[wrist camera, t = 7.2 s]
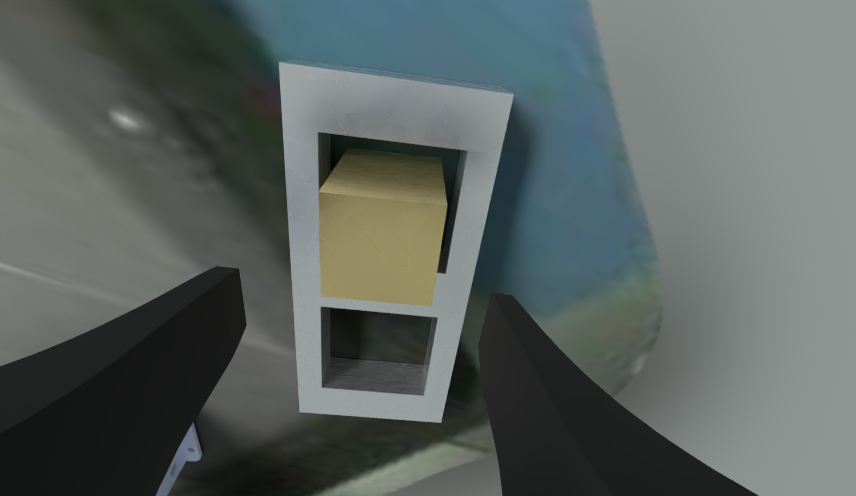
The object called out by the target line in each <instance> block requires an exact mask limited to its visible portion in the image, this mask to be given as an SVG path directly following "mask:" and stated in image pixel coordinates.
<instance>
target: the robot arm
mask: <svg viewBox="0 0 856 496" xmlns="http://www.w3.org/2000/svg"><path fill="white" fill-rule="evenodd" d="M246 325H247V324H246V317H245V310H244V302H243V295H242V288H241V281H240V273H239V269H238V268H228V267H218V266H216V267H214V268H212V269H210V270H208V271H206V272H204V273H202V274H200V275H198V276H196V277H194V278H192V279H190V280H188V281H187V282H185V283H183V284H181V285H179V286H177V287H176V288H174V289H172V290H170V291H168V292H166V293H164V294H163V295H161V296H159V297H157V298H155V299H153V300H151V301H149V302H148V303H146V304H144V305H142V306H140V307H138V308H136V309H134V310H132V311H130V312H128V313H126V314H124V315H122V316H120V317H117V318H115V319H113V320H111V321H109V322H107V323H105V324H103V325H101V326H99V327H97V328H95V329H93V330H90V331H88V332H86V333H84V334H82V335H79V336H77V337H75V338H72V339H70V340H68V341H65V342H63V343H60V344H58V345H56V346H53V347H51V348H48V349H46V350H43V351H41V352H38V353H36V354H33V355H31V356H28V357H25V358H22V359H20V360H17V361H14V362H11V363H8V364H6V365H3V366H0V496H167V495H168V493H169V491H170V489H171V488H172V486H173V484H174V482H175V480H176V479H177V477H178V475H179V473H180V471H181V470H182V468H183V466H184V464H185V462H186V461H198V460H200V458H201V456H202V452H201V448H200V444H199V441H198V437H197V433H196V430H195V426H194V420H195V419H196V417H197V415H198V414H199V412H200V411H201V409H202V407H203V406H204V404H205V402H206V401H207V399H208V397H209V396H210V394H211V393H212V391H213V389H214V388H215V386H216V384H217V383H218V381H219V379H220V378H221V376H222V374H223V373H224V371H225V369H226V368H227V366H228V364H229V363H230V361H231V359H232V358H233V356H234V353H235V351H236V349H237V347H238V345H239V342H240V340H241V338H242V335H243V333H244V330H245V328H246ZM478 347H479V361H480V372H481V380H482V385H483V390H484V395H485V399H486V404H487V409H488V414H489V418H490V423H491V428H492V432H493V437H494V442H495V446H496V451H497V457H498V463H499V469H500V478H501V486H502V495H503V496H758V495H756V494H755V493H753V492H751V491H749V490H748V489H746V488H745V487H743V486H741V485H739V484H738V483H736V482H734V481H733V480H731V479H729V478H727V477H726V476H724V475H722V474H721V473H719V472H717V471H715V470H714V469H712V468H710V467H709V466H707V465H706V464H704V463H702V462H701V461H700V460H698V459H696V458H695V457H693V456H692V455H690V454H689V453H687V452H686V451H684V450H683V449H681V448H679V447H678V446H676V445H675V444H674V443H672V442H671V441H669V440H668V439H666V438H665V437H663V436H662V435H660V434H659V433H658V432H656V431H655V430H653V429H652V428H651V427H649V426H648V425H647V424H645V423H644V422H643V421H641V420H640V419H639V418H637V417H636V416H635V415H633V414H632V413H631V412H629V411H628V410H627V409H625V408H624V407H623V406H622V405H620V404H619V403H618V402H617V401H615V400H614V399H613V398H612V397H611V396H610V395H608V394H607V393H606V392H605V391H604V390H603V389H601V388H600V387H599V386H598V385H597V384H596V383H594V382H593V381H592V380H591V379H590V378H589V377H588V376H587V375H586V374H584V373H583V372H582V371H581V370H580V369H579V368H578V367H577V366H576V365H575V364H574V363H573V362H572V361H571V360H570V359H569V358H568V357H567V356H566V355H565V354H564V353H563V352H562V351H561V350H560V349H559V348H558V347H557V346H556V345H555V343H554V342H553V341H552V340H551V339H550V338H549V337H548V336H547V335H546V334H545V332H544V331H543V330H542V329H541V328H540V327H539V326H538V325H537V323H536V322H535V321H534V320H533V319H532V318H531V316H530V315H529V314H528V313H527V312H526V311H525V309H524V308H523V307H522V306H521V305H520V304H519V302H518V301H517V300H516V299H515V298H514V297H513V296H512V295H503V294H493V293H492V294H491V298H490V302H489V306H488V310H487V314H486V318H485V322H484V326H483V330H482V334H481V337H480V341H479V345H478Z"/></svg>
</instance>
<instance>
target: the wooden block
mask: <svg viewBox="0 0 856 496" xmlns="http://www.w3.org/2000/svg"><path fill="white" fill-rule="evenodd" d="M318 193H319V234H320V274H321V297H332V298H343V299H354V300H366V301H377V302H388V303H399V304H410V305H421V306H432V302H433V295H434V289H435V282H436V276H437V269H438V263H439V257H440V250H441V244H442V237H443V231H444V224H445V218H446V211H447V199H446V191H445V184H444V176H443V169H442V161H441V158H440V157H431V156H422V155H414V154H405V153H396V152H388V151H379V150H370V149H362V148H353V147H348V149H347V150H346V152H345V153H344V155H343V156H342V158H341V159H340V161H339V162H338V164H337V165H336V167H335V168H334V170H333V171H332V173H331V174H330V176H329V177H328V179H327V180H326V181H325V183H324V184H323V186H322V187H321V189H320V190H319V192H318Z"/></svg>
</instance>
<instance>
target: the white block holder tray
mask: <svg viewBox="0 0 856 496" xmlns="http://www.w3.org/2000/svg"><path fill="white" fill-rule="evenodd" d="M279 71H280V88H281V105H282V122H283V139H284V156H285V173H286V189H287V206H288V223H289V240H290V257H291V274H292V291H293V307H294V324H295V341H296V358H297V375H298V392H299V409H300V412H307V413H320V414H333V415H346V416H360V417H373V418H386V419H399V420H413V421H426V422H439V423H441V420H442V416H443V411H444V407H445V402H446V398H447V393H448V389H449V384H450V380H451V375H452V371H453V366H454V362H455V357H456V353H457V348H458V344H459V339H460V335H461V330H462V326H463V321H464V317H465V312H466V308H467V303H468V299H469V294H470V290H471V285H472V281H473V276H474V272H475V267H476V263H477V258H478V254H479V249H480V245H481V240H482V236H483V231H484V227H485V222H486V218H487V213H488V209H489V204H490V200H491V195H492V191H493V186H494V182H495V177H496V173H497V168H498V164H499V159H500V155H501V150H502V146H503V141H504V137H505V132H506V128H507V123H508V119H509V114H510V110H511V105H512V101H513V96H514V94H513V93H511V92H510V91H508V90H507V89H505V88H504V87H502V86H495V85H487V84H480V83H473V82H466V81H458V80H451V79H444V78H437V77H429V76H422V75H415V74H408V73H400V72H393V71H386V70H379V69H371V68H364V67H357V66H350V65H342V64H335V63H328V62H321V61H313V60H306V59H299V58H298V59H293V60H288V61H283V62H279ZM331 134H338V135H346V136H354V137H362V138H370V139H378V140H386V141H394V142H402V143H410V144H418V145H426V146H434V147H442V148H450V149H458V150H460V155H459V161H458V167H457V173H456V178H455V184H454V190H453V196H452V202H451V208H450V214H449V220H448V226H447V232H446V238H445V244H444V249H441V250H440V257H439V263H438V269H437V276H436V282H435V289H434V295H433V302H432V306H421V305H410V304H399V303H388V302H377V301H366V300H354V299H343V298H332V297H321V274H320V234H319V193H318V192H319V190H320V189H321V187H322V186H323V184H324V183H325V181H326V180H327V179H328V177H329V176H330V174H331ZM331 307H332V308H343V309H353V310H364V311H374V312H385V313H396V314H406V315H417V316H427V317H432V321H431V327H430V332H429V338H428V344H427V350H426V356H425V362H424V365H419V364H408V363H396V362H384V361H373V360H361V359H349V358H337V357H331Z"/></svg>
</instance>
